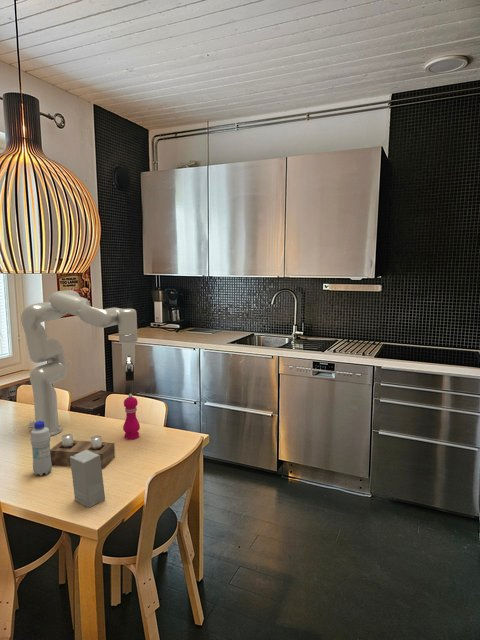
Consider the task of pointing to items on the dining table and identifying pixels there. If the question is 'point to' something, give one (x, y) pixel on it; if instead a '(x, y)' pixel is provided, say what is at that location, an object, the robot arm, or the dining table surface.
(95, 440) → the peg
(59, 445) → the socket block
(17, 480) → the dining table surface
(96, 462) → the skincare box
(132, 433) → the pepper mill
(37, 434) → the bottle
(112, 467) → the dining table surface
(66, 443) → the peg
